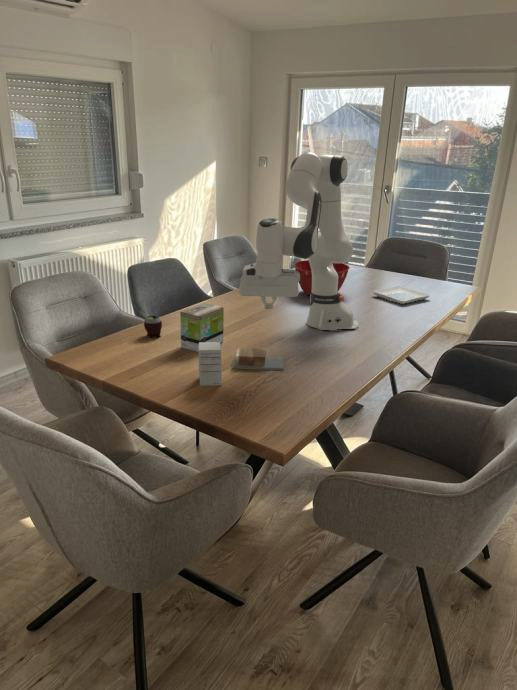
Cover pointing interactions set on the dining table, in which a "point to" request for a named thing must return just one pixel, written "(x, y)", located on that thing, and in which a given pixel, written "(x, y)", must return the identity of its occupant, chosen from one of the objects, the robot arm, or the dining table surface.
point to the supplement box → (210, 363)
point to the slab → (250, 356)
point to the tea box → (201, 325)
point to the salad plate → (400, 290)
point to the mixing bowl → (306, 274)
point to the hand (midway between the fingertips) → (268, 308)
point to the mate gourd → (153, 324)
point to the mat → (270, 364)
